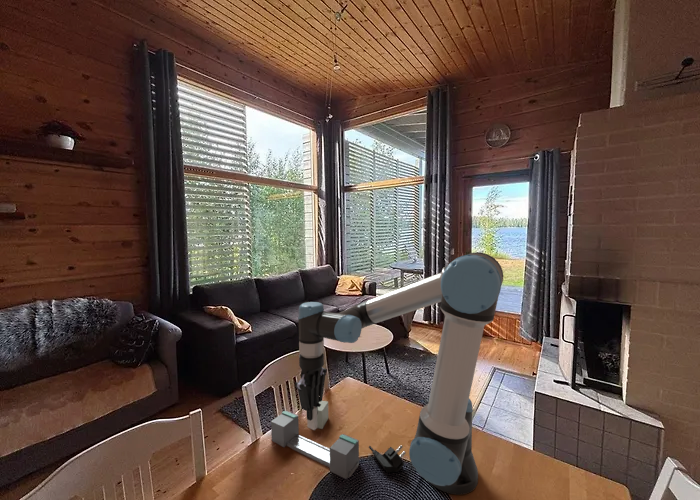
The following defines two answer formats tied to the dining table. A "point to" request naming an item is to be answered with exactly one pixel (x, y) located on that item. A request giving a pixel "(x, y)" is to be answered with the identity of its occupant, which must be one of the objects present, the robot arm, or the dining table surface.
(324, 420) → the block
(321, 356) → the robot arm
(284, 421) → the block
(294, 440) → the rail
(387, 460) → the power plug
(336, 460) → the block
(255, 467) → the dining table surface
